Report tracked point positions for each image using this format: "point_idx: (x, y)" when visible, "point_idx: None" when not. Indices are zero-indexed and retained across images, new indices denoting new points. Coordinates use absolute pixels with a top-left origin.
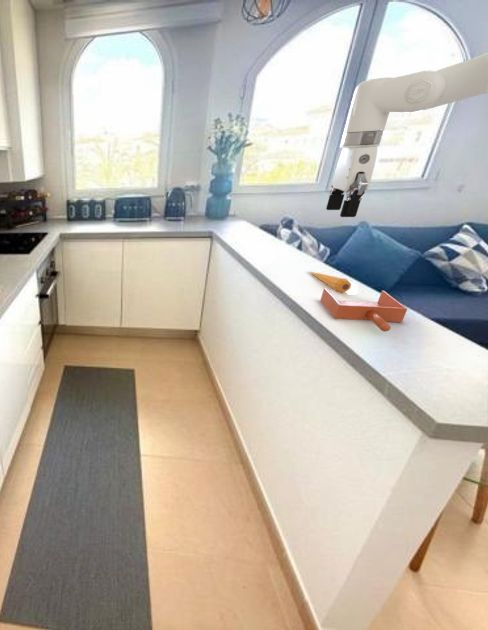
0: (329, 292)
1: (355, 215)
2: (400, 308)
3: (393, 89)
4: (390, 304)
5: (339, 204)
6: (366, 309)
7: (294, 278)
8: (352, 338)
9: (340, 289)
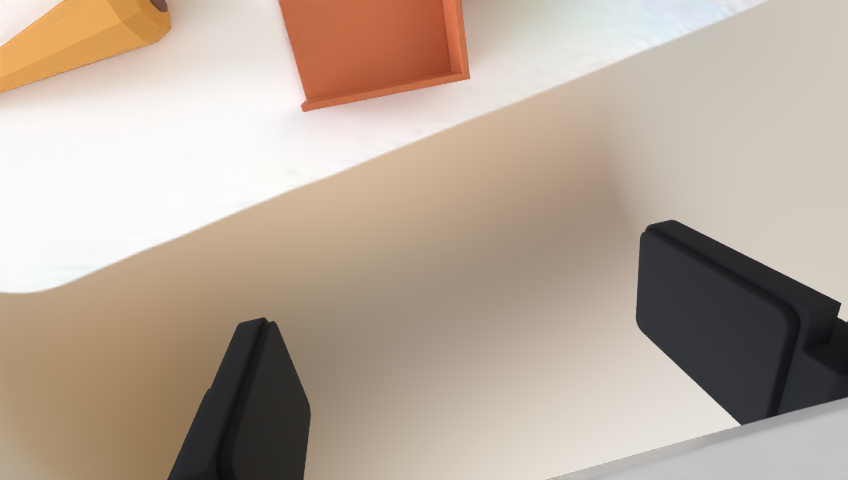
0: (349, 97)
1: (677, 225)
2: None
3: None
4: None
5: (272, 372)
6: None
7: (68, 181)
8: (576, 48)
9: (168, 18)
